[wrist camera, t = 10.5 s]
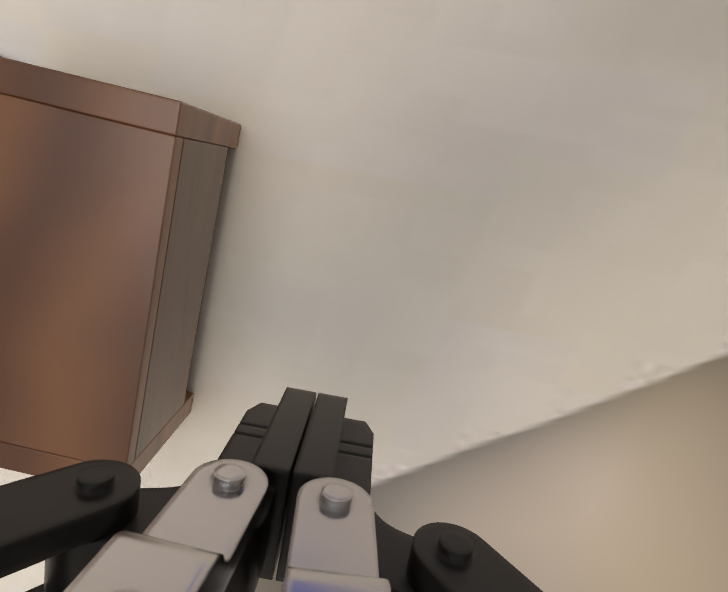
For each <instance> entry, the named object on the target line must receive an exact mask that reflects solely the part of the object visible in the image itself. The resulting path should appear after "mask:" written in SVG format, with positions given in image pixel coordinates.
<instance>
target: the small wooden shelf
mask: <svg viewBox="0 0 728 592" xmlns="http://www.w3.org/2000/svg"><path fill="white" fill-rule="evenodd" d="M240 128H241V125H240V124H237V123H235V122H232V121H230V120H227V119H224V118H222V117H219V116H217V115H214V114H212V113H209V112H207V111H204V110H201V109H199V108H196V107H194V106H191V105H189V104H186V103H183V102H181V101H177V100H173V99H169V98H165V97H161V96H157V95H153V94H149V93H145V92H141V91H137V90H133V89H129V88H125V87H121V86H117V85H112V84H108V83H104V82H100V81H96V80H92V79H88V78H84V77H80V76H76V75H72V74H68V73H64V72H60V71H56V70H52V69H47V68H43V67H39V66H35V65H31V64H27V63H23V62H19V61H15V60H11V59H7V58H3V57H0V468H4V469H9V470H13V471H17V472H22V473H26V474H30V475H39V474H42V473H46V472H49V471H53V470H56V469H60V468H63V467H66V466H70V465H73V464H77V463H80V462H85V461H90V460H101V459H102V460H116V461H120V462H124V463H127V464H129V465H131V466H133V467H134V468H135V469H136V470H137V471H138V472H139V474H140V473H141V471H142V470H143V469H144V468H145V467H146V465H147V464H148V463H149V462H150V461H151V459H152V458H153V457H154V456H155V454H156V453H157V452H158V451H159V450H160V448H161V447H162V446H163V445H164V444H165V442H166V441H167V440H168V439H169V437H170V436H171V435H172V434H173V433H174V431H175V430H176V429H177V428H178V427H179V425H180V424H181V423H182V422H183V420H184V419H185V418H186V417H187V416H188V414H189V413H190V411H191V406H192V400H193V393H189V392H186V388H187V383H188V377H189V371H190V365H191V359H192V354H193V348H194V342H195V336H196V331H197V325H198V319H199V313H200V307H201V302H202V296H203V290H204V284H205V278H206V273H207V267H208V261H209V255H210V250H211V244H212V238H213V232H214V226H215V221H216V215H217V209H218V203H219V198H220V192H221V186H222V180H223V174H224V169H225V163H226V157H227V151H228V147H230V148H234V149H236V148H237V145H238V139H239V133H240Z"/></svg>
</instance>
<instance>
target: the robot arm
mask: <svg viewBox="0 0 728 592" xmlns="http://www.w3.org/2000/svg"><path fill="white" fill-rule="evenodd" d="M347 399H348V398H344V397H338V396H333V395H328V394H322V393H319V394H318V397H317V400H316V392H311V391H305V390H300V389H295V388H289V387H287V388H286V390H285V392H284V394H283V397H282V399H281V401H280V403H279V405H278V406H277V405H271V404H266V403H260V404H258V405H256V406H255V407H253V408H251V409H249V410H247V412H246V413H245V415H244V417H243V418H242V420H241V422H240V424H239V425H238V426H237V428H236V430H235V432H234V433H233V435H232V436H231V438H230V440H229V441H228V443H227V445H226V446H225V448H224V450H223V451H222V453H221V455H220V456H219V458H218V460H214V461H210V462H207V463H204V464H202V465H200V466H199V467H197V468H196V469H195V470H194V471H193V472H192V473H191V474H190V476H189V477H188V478H187V479H186V480H185V482H184V483H183V484H182V485H181V486H177V487H168V488H140V484H141V477H140V474H139V472H138V471H137V470H136V469H135V468H134V467H133V466H131V465H129V464H127V463H124V462H120V461H116V460H102V459H101V460H90V461H85V462H80V463H77V464H73V465H70V466H66V467H63V468H60V469H56V470H53V471H49V472H46V473H42V474H39V475H35V476H32V477H29V478H25V479H22V480H18V481H15V482H11V483H8V484H5V485H1V486H0V578H2V577H5V576H7V575H10V574H12V573H15V572H17V571H19V570H22V569H24V568H27V567H29V566H32V565H34V564H37V563H39V562H42V561H44V560H45V576H44V584H42V585H40V586H37V587H35V588H33V589H31V590H28V591H26V592H255V589H256V586H257V583H258V580H259V578H264V579H270V580H272V578H273V575H274V571H275V568H276V564H277V561H278V558H279V563H278V569H277V575H276V581H282V582H283V584H282V590H281V592H543V591H542V590H540V589H539V588H538V587H537V586H536V585H534V584H533V583H532V582H531V581H530V580H529V579H528V578H527V577H525V576H524V575H523V574H522V573H521V572H520V571H518V570H517V569H516V568H515V567H514V566H513V565H512V564H510V563H509V562H508V561H507V560H506V559H504V558H503V557H502V556H501V555H500V554H499V553H498V552H497V551H495V550H494V549H493V548H492V547H491V546H490V545H488V544H487V543H486V542H485V541H484V540H483V539H481V538H480V537H479V536H478V535H476V534H475V533H473V532H471V531H469V530H467V529H465V528H463V527H460V526H457V525H454V524H450V523H439V522H437V523H430V524H426V525H424V526H422V527H421V528H419V529H418V530H417V532H416V533H415V535H414V537H413V536H411V535H408V534H406V533H403V532H401V531H399V530H397V529H395V528H393V527H391V526H390V525H388V524H387V523H385V522H384V521H383V520H382V519H381V518H380V517H379V516H378V515H377V514H376V513H375V511H374V505H373V501H372V499H371V497H370V489H371V471H372V453H373V449H372V448H373V435H374V434H373V432H372V431H371V429H370V428H369V426H368V425H367V423H366V422H364V421H358V420H353V419H347V418H344V416H345V410H346V405H347ZM315 402H316V403H315ZM279 554H280V557H279Z"/></svg>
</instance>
